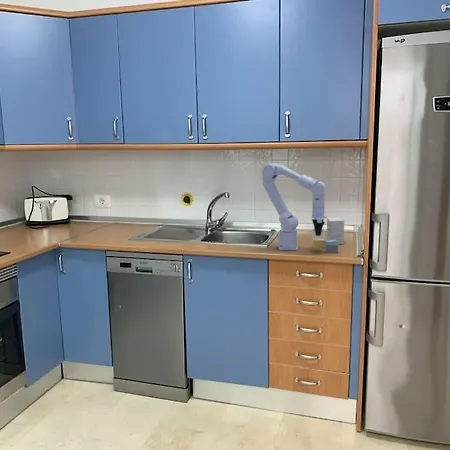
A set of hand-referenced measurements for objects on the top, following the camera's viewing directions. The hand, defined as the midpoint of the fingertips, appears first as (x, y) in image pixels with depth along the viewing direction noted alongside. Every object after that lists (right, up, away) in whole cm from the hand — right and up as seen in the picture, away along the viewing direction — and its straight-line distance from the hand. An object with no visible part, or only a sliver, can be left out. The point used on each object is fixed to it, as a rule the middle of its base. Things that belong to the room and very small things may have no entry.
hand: (317, 234), depth 228 cm
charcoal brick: (+6, -9, -1) cm, 11 cm away
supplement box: (+12, -5, +17) cm, 22 cm away
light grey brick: (0, -2, 0) cm, 2 cm away
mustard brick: (+2, -7, +9) cm, 12 cm away
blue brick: (+8, -7, +6) cm, 12 cm away
